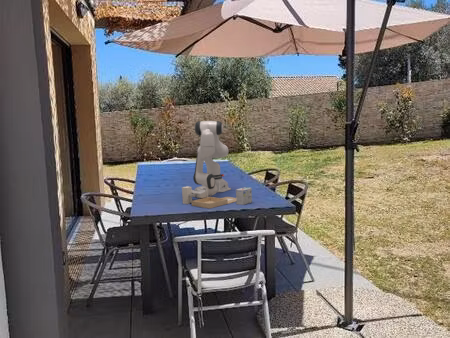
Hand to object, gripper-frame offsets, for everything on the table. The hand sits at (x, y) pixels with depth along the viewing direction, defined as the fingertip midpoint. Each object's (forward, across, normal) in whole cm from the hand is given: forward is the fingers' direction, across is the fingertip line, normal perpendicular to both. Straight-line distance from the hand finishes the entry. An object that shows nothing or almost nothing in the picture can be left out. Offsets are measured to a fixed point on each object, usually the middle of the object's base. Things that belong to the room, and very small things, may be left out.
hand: (186, 195), depth 329 cm
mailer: (-15, +18, +6) cm, 24 cm away
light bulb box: (-24, +35, +6) cm, 43 cm away
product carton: (-1, 0, +6) cm, 6 cm away
